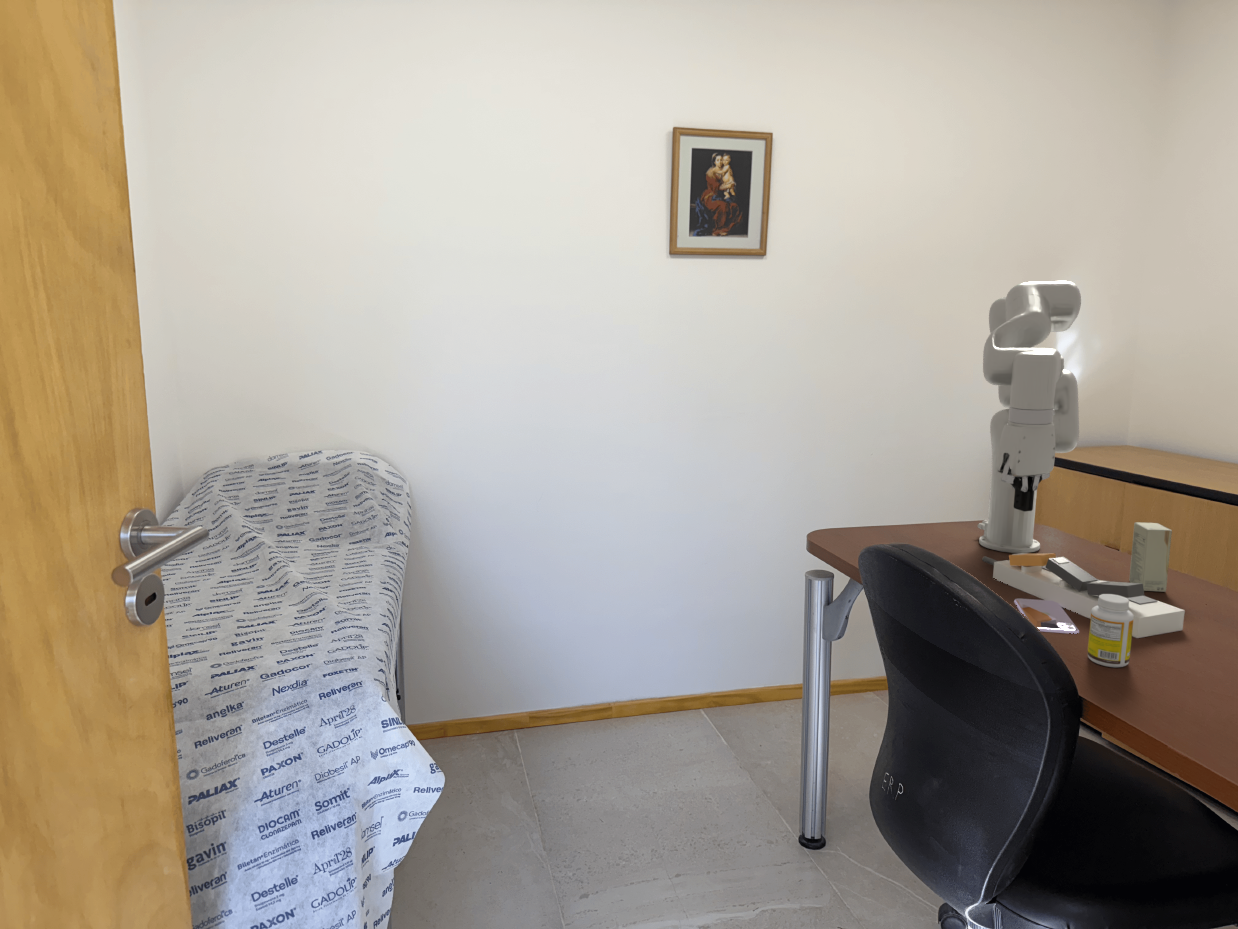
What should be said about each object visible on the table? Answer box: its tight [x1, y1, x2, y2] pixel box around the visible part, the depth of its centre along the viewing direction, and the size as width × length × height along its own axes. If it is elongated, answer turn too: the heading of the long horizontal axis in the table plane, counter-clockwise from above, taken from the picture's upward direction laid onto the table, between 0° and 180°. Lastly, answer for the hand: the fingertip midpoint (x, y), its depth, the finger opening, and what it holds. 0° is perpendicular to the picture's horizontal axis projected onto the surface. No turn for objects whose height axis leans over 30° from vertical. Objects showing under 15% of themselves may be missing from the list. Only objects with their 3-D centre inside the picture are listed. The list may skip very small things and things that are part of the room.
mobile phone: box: [1013, 598, 1080, 635], centre depth 141 cm, size 8×1×15 cm
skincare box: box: [1128, 521, 1173, 593], centre depth 154 cm, size 6×4×12 cm
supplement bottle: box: [1087, 594, 1134, 668], centre depth 122 cm, size 6×6×10 cm
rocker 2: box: [1046, 556, 1099, 591], centre depth 146 cm, size 8×4×2 cm, turn 18°
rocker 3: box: [1086, 580, 1145, 598], centre depth 137 cm, size 8×4×2 cm, turn 17°
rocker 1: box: [1008, 552, 1057, 566], centre depth 154 cm, size 8×4×2 cm, turn 17°
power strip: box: [981, 556, 1186, 639], centre depth 151 cm, size 40×10×5 cm, turn 18°
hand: (1022, 509), depth 156 cm, fingers closed
